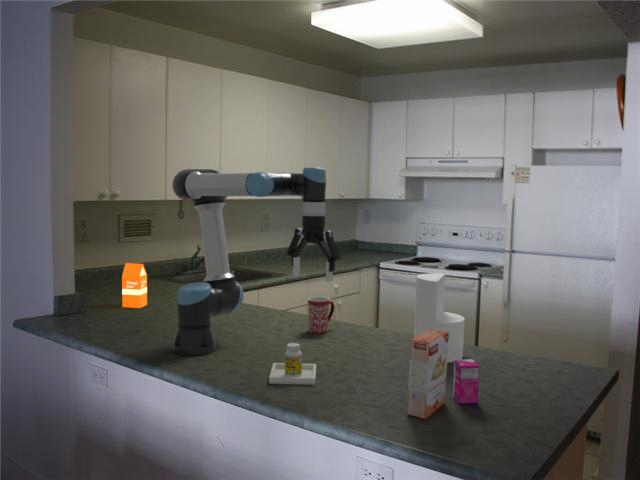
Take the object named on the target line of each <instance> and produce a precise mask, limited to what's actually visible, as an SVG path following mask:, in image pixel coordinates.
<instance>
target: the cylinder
mask: <svg viewBox="0 0 640 480" xmlns="http://www.w3.org/2000/svg"><path fill="white" fill-rule="evenodd" d="M445 276H446V274H445V273H421V274H417V275H416V278H415V280H416V281H415V282H416V284H415V303H414V304H415V309H414V310H415V311H414V333H413V334H414V335H413V338H415V337H417V336H419V335H421V334H423V333H425V332H426V331H428V330H430V329H433V330H439V331H445V332H448V333H449V340H448V356H447V363H454V360H463V356H464V337H465V317H464V316H463V315H460V314H457V313H453V312H448V311H447V312H446V311H444V306H445V304H444V303H445V302H444V301H445V285H446V284H445V283H446V282H445V281H446V277H445Z"/></svg>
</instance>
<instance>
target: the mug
mask: <svg viewBox="0 0 640 480" xmlns="http://www.w3.org/2000/svg"><path fill="white" fill-rule="evenodd" d="M307 308H308V330H309V333H311V334H314V335H315V334H317V335H321V334H326V333H327V332H328V325H329V322H330V320H331V319H332V316H333V314H334V311H335V303H334V301H332V300H331V298H329V297H326V296H311V297H308V298H307Z"/></svg>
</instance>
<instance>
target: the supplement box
mask: <svg viewBox="0 0 640 480" xmlns="http://www.w3.org/2000/svg"><path fill="white" fill-rule="evenodd" d="M452 382H453V386H452V387H453V388H452V389H453V390H452V398H453V399H454V400H455V401H456V402H457V404H458V405H459V406H461V405H463V406H468V405H470V406H471V405H474V406H475V405H476V406H477V405H479V392H480V390H479V389H480V388H479V385H480V364H478V363H477V362H476V361H475V360H474V359H473V358H471V359H470V358H469V359H466V358H465V359H461V360H454V362H453V381H452Z"/></svg>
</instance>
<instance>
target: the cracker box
mask: <svg viewBox="0 0 640 480" xmlns="http://www.w3.org/2000/svg"><path fill="white" fill-rule="evenodd" d="M448 340H449V333H448V332H445V331H439V330H433V329H430V330H428V331H426V332H425V333H423V334H421V335H419V336H417V337H415V338H414V337H413V338H411V339H410V346H409V347H410V351H409V366H408V367H409V368H408V370H409V371H408V388H407V389H408V390H407V404H406V405H407V407H406V415H408V416H412V417H415V418H419V419H423V420H427V419H428V418H429V417H430V416H431V415H433V414H434V413H435V412H437V411H438V409H440V408H441V407H442V406H443V405H445V404H446V403H445V402H446V384H447V371H448V362H447V356H448Z"/></svg>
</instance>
